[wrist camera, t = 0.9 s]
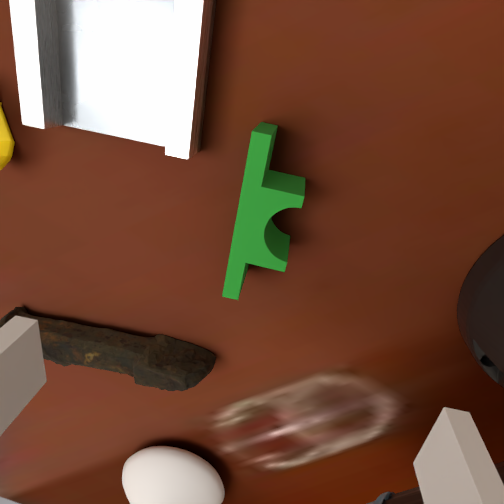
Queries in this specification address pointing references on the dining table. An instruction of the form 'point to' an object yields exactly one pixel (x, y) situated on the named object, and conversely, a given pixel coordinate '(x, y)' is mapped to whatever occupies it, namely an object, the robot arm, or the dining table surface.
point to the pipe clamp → (261, 212)
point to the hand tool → (122, 352)
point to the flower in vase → (170, 478)
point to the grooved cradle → (116, 67)
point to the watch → (5, 141)
